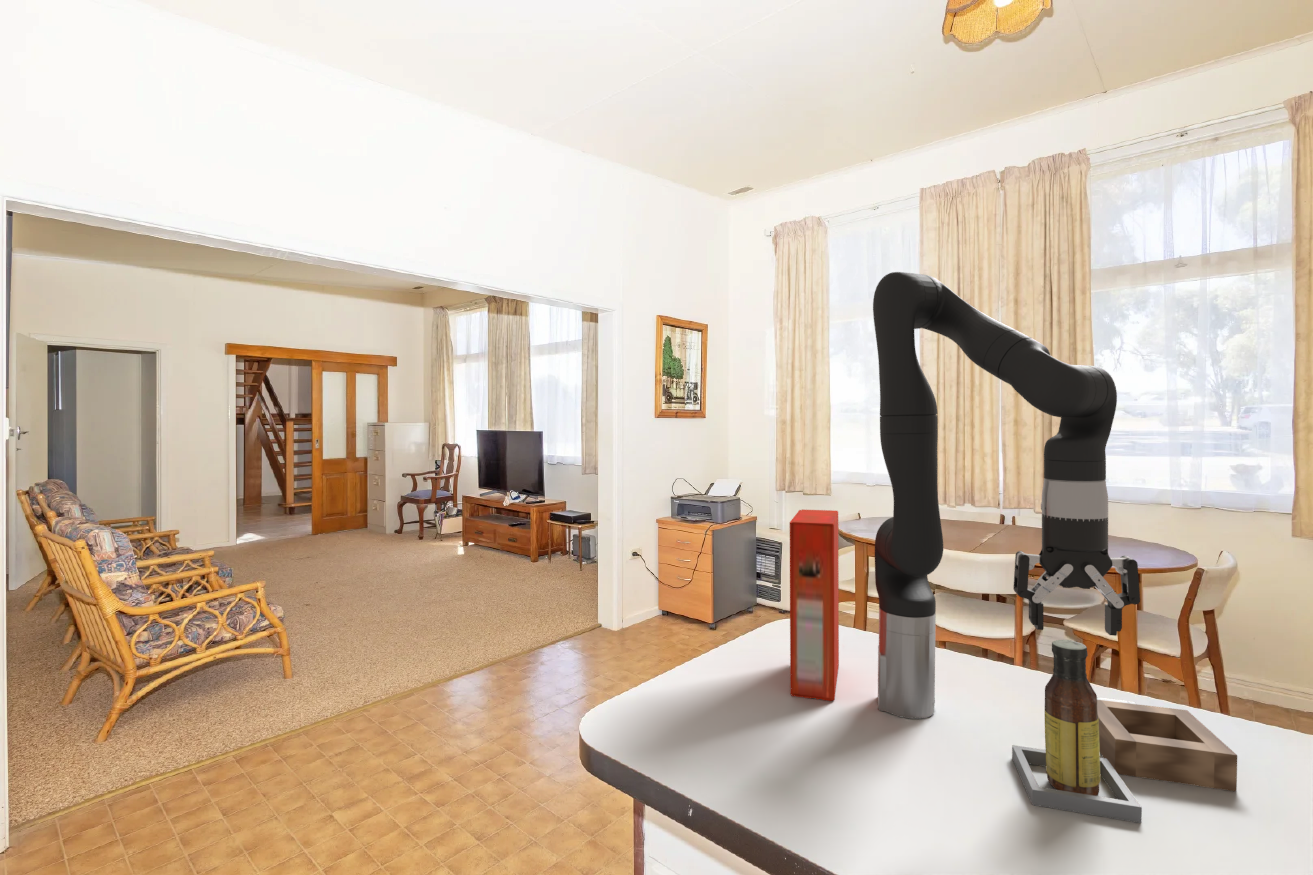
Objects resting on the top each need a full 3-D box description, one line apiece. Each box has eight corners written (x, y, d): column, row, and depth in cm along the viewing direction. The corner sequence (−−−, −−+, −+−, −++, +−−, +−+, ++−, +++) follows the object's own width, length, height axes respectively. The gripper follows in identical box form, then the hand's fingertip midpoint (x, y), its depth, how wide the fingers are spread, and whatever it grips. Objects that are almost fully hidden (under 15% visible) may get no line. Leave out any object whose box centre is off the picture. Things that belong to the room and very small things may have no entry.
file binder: (788, 695, 115) (789, 521, 115) (798, 661, 132) (799, 509, 131) (834, 701, 113) (835, 523, 112) (838, 666, 129) (839, 510, 128)
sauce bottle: (1094, 781, 88) (1097, 640, 87) (1105, 806, 82) (1107, 655, 82) (1040, 770, 91) (1042, 633, 90) (1046, 794, 85) (1048, 647, 84)
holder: (1114, 773, 90) (1115, 738, 90) (1082, 728, 103) (1083, 697, 103) (1236, 791, 85) (1237, 755, 85) (1186, 741, 99) (1187, 710, 99)
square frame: (1032, 804, 83) (1032, 789, 82) (1012, 758, 94) (1012, 744, 94) (1141, 822, 79) (1141, 807, 79) (1106, 772, 90) (1106, 758, 90)
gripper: (1021, 515, 84) (1021, 635, 85) (1148, 518, 80) (1148, 645, 80) (1008, 507, 91) (1009, 618, 92) (1125, 509, 87) (1124, 626, 87)
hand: (1074, 630), depth 86 cm, fingers open, 8 cm apart
